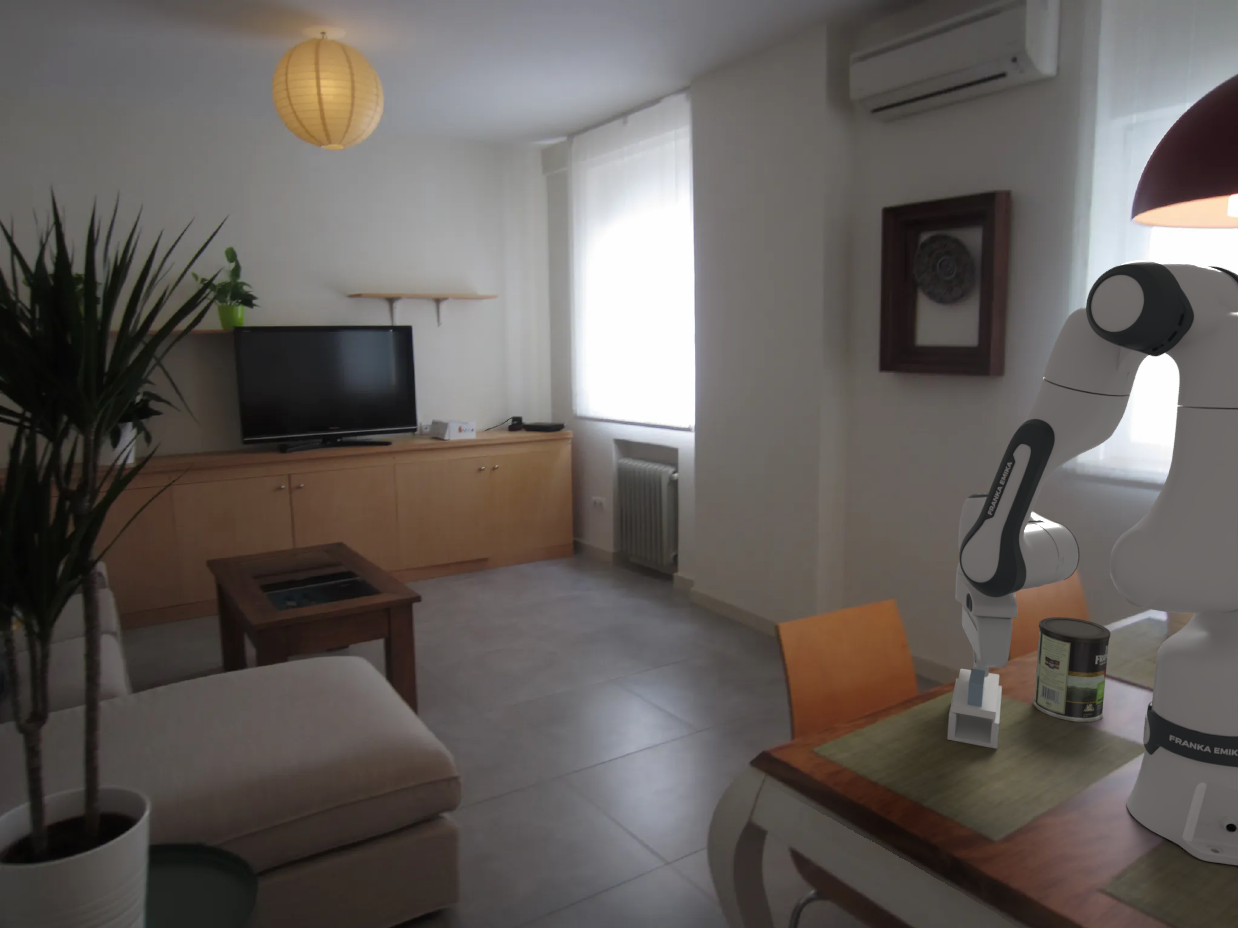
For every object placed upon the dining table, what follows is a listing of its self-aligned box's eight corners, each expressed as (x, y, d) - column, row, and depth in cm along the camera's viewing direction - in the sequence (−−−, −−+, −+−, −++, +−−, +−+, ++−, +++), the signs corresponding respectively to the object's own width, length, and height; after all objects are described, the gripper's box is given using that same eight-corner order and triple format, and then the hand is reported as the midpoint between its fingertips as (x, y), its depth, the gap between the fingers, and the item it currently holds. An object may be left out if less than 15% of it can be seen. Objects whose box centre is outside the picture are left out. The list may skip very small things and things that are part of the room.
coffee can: (1107, 705, 142) (1114, 624, 140) (1097, 728, 134) (1105, 642, 131) (1039, 690, 148) (1046, 612, 146) (1026, 711, 140) (1032, 629, 138)
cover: (997, 700, 143) (1001, 651, 141) (993, 744, 128) (997, 689, 126) (959, 694, 145) (962, 645, 144) (950, 736, 130) (954, 682, 129)
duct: (1000, 708, 141) (1001, 685, 140) (997, 748, 127) (999, 723, 127) (954, 700, 144) (956, 678, 143) (947, 739, 130) (948, 714, 130)
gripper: (954, 573, 147) (950, 650, 149) (974, 608, 127) (970, 696, 129) (994, 575, 145) (989, 652, 147) (1020, 610, 126) (1015, 700, 127)
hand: (980, 673), depth 138 cm, fingers closed
